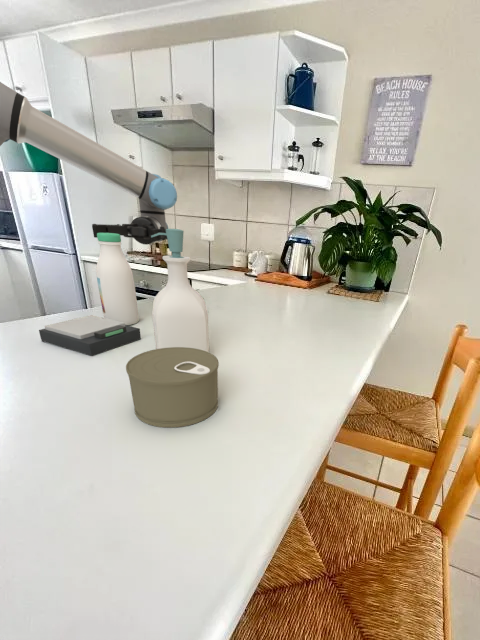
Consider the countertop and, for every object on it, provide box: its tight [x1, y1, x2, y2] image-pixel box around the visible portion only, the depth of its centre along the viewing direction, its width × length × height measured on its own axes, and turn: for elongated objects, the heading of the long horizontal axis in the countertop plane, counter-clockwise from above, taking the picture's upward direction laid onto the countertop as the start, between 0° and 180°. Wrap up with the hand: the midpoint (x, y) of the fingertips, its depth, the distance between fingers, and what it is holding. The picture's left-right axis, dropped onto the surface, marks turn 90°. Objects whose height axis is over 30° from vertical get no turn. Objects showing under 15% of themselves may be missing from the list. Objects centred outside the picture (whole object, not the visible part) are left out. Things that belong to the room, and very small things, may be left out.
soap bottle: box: [151, 228, 210, 353], centre depth 59 cm, size 10×10×23 cm
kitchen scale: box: [38, 314, 142, 357], centre depth 67 cm, size 14×12×3 cm
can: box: [125, 347, 220, 429], centre depth 46 cm, size 12×12×7 cm
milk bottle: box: [95, 233, 140, 326], centre depth 75 cm, size 8×8×20 cm
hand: (123, 233), depth 80 cm, fingers open, 13 cm apart
